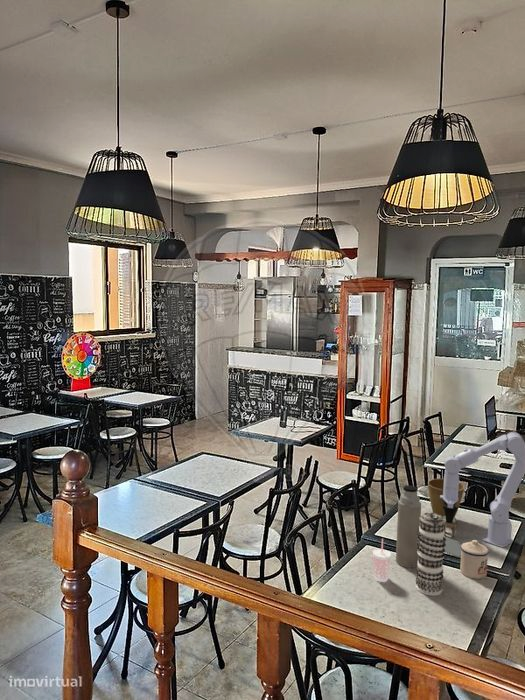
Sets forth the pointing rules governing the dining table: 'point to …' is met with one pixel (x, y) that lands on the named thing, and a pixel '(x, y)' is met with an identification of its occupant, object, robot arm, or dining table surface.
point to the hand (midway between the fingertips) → (449, 519)
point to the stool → (450, 525)
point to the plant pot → (437, 490)
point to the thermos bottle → (408, 527)
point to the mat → (453, 547)
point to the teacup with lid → (474, 559)
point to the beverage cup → (381, 564)
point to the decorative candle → (430, 554)
